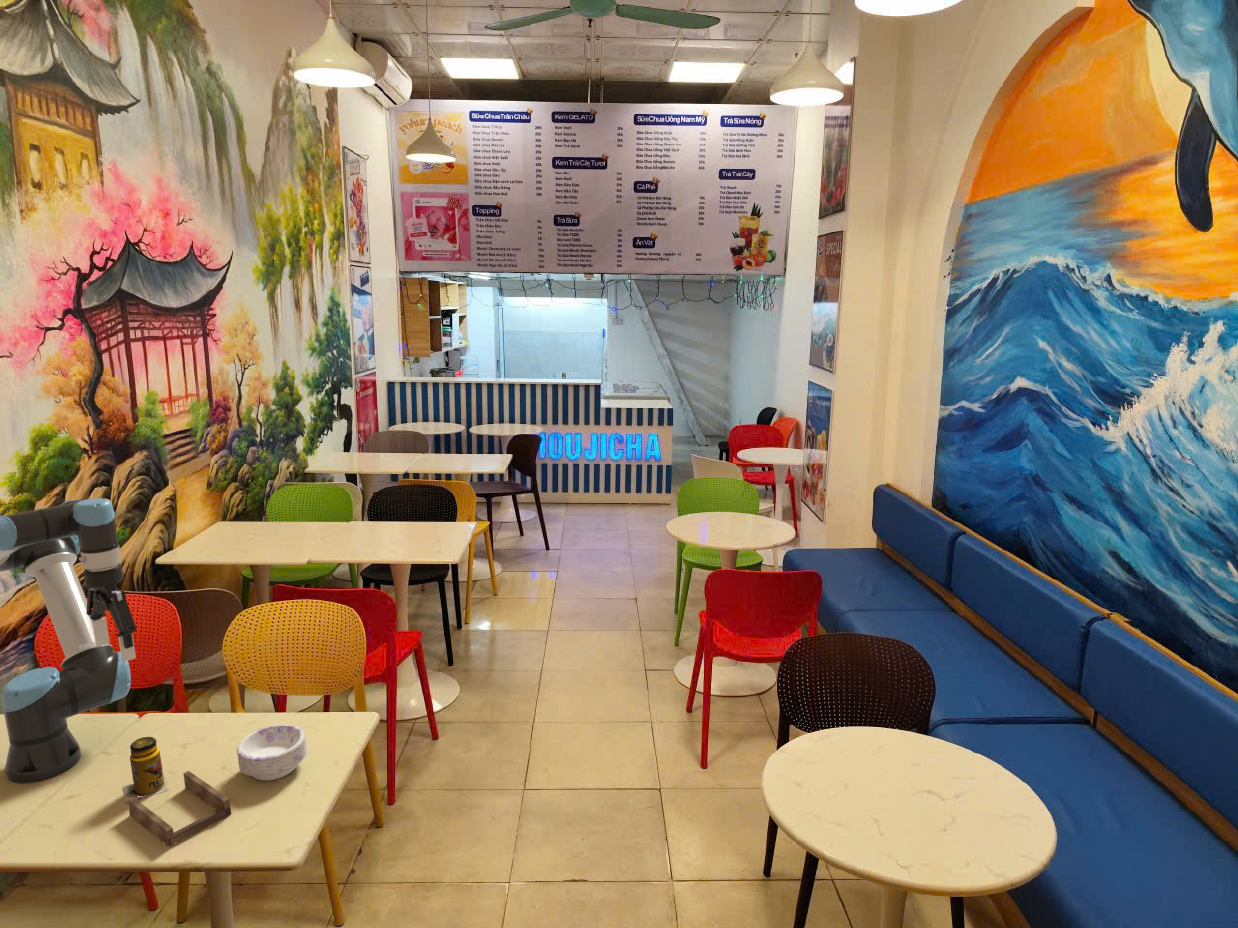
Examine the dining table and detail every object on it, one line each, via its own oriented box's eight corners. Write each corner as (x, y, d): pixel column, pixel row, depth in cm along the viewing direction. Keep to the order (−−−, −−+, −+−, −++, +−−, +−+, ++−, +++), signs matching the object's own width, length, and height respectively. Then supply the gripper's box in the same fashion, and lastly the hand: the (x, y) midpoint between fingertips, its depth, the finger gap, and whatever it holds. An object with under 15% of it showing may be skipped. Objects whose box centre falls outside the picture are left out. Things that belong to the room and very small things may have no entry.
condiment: (167, 790, 190) (161, 744, 187) (125, 803, 185) (118, 756, 183) (164, 775, 196) (157, 730, 193) (123, 787, 191) (116, 741, 189)
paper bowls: (235, 793, 189) (231, 762, 187) (245, 757, 203) (242, 728, 201) (305, 782, 193) (302, 752, 191) (310, 747, 207) (307, 719, 205)
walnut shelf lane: (129, 815, 181) (127, 799, 180) (190, 785, 192) (188, 770, 191) (169, 847, 171) (166, 830, 170) (231, 814, 181) (229, 798, 180)
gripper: (61, 560, 191) (75, 644, 196) (108, 582, 177) (122, 672, 181) (96, 551, 197) (109, 633, 202) (145, 572, 183) (157, 660, 187)
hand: (115, 652), depth 192 cm, fingers open, 13 cm apart
